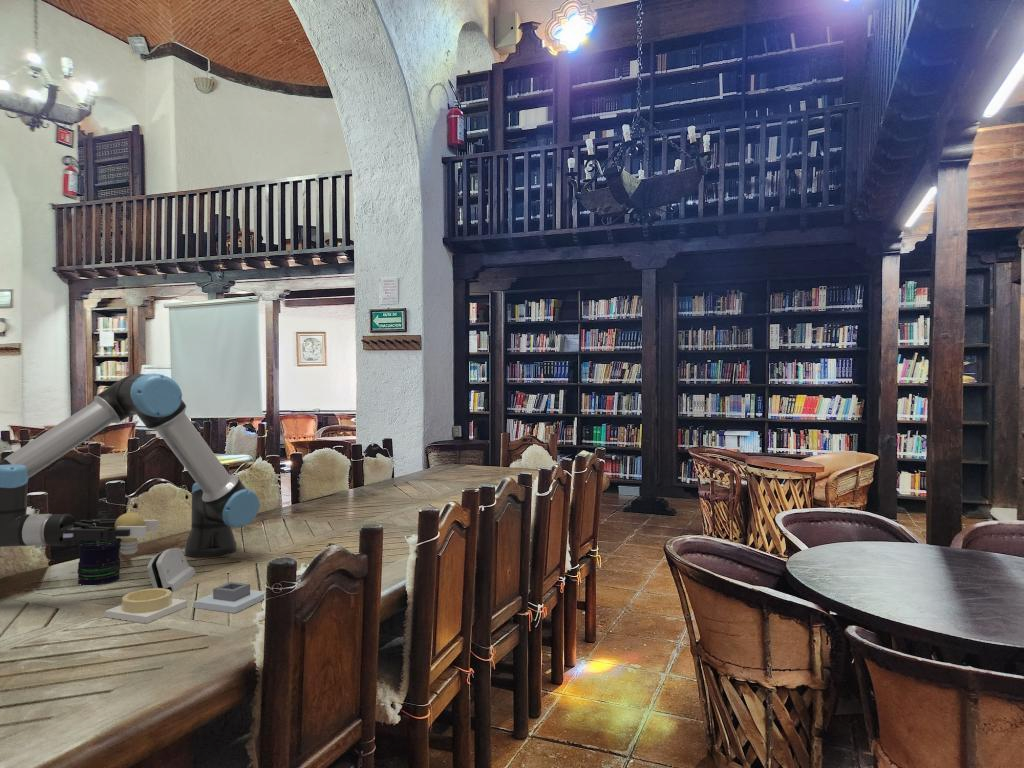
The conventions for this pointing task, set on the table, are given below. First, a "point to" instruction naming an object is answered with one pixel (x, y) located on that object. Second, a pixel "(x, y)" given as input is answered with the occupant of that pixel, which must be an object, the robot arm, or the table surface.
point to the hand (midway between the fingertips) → (151, 528)
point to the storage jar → (98, 562)
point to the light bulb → (129, 520)
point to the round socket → (146, 605)
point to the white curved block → (169, 569)
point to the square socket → (230, 598)
